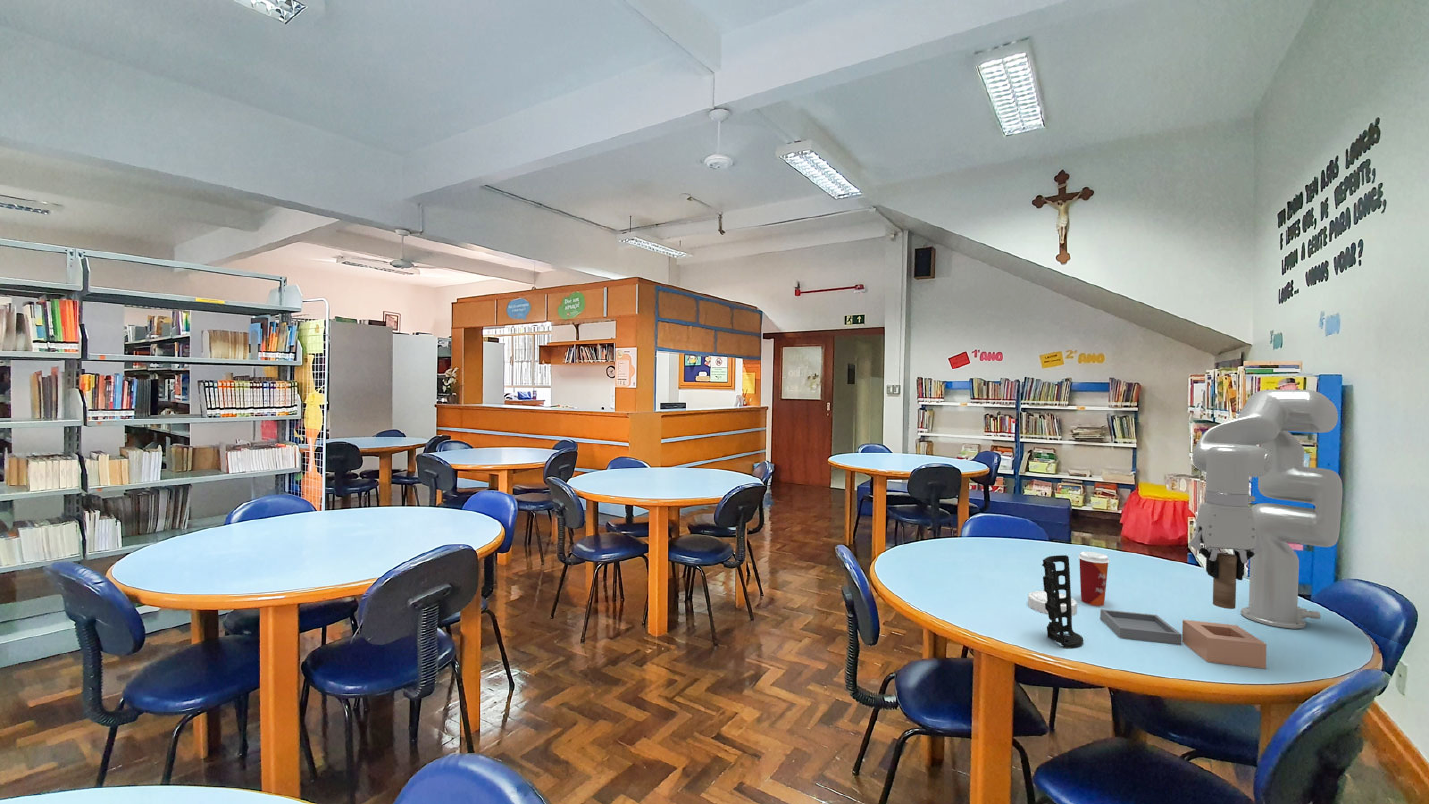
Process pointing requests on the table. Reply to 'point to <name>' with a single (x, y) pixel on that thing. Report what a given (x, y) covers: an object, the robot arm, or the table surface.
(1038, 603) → the mooncake
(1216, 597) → the dowel pin
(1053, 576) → the holder
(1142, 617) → the tray
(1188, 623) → the well block
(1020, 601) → the table surface
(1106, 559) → the paper cup
